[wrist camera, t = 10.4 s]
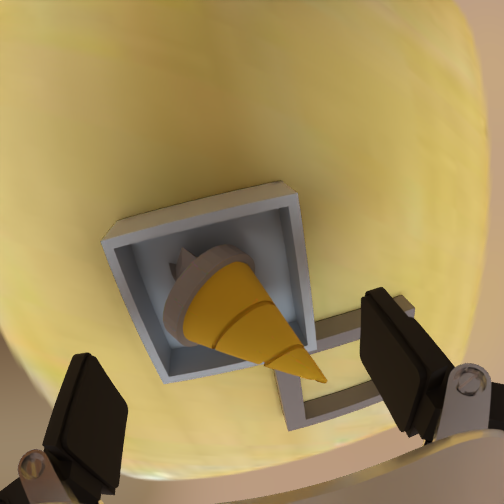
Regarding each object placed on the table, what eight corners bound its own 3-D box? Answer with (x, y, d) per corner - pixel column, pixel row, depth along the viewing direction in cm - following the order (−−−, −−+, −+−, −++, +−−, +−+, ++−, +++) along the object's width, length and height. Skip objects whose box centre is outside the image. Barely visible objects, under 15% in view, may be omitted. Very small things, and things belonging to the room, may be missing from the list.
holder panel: (266, 335, 20) (271, 352, 19) (401, 294, 21) (415, 307, 19) (283, 415, 24) (288, 431, 22) (392, 379, 24) (401, 392, 23)
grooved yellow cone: (200, 198, 16) (377, 307, 12) (207, 266, 20) (342, 362, 16) (114, 256, 13) (299, 414, 9) (142, 319, 17) (280, 439, 13)
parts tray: (116, 220, 16) (100, 241, 13) (281, 180, 17) (297, 192, 14) (167, 350, 20) (163, 383, 17) (302, 319, 20) (317, 349, 17)
